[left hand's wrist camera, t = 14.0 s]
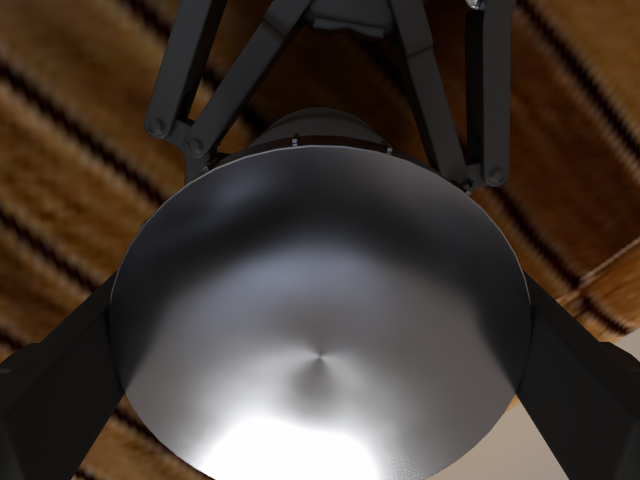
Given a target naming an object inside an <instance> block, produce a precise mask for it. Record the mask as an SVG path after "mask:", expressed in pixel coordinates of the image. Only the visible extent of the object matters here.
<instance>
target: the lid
mask: <svg viewBox="0 0 640 480" xmlns="http://www.w3.org/2000/svg"><path fill="white" fill-rule="evenodd" d="M203 170H204V171H203V172H202V173H200V174H199V175H198V176H196V177H195V178H194V179H193V180H191V181H190V182H189V183H187V184H186V185H185V186H184V187H182V188H181V189H180V190H179V191H177V192H176V193H175V194H173V195H172V196H171V197H170V198H168V199H167V200H166V201H165V202H164V203H163V204H162V205H161V206H160V207H159V208H158V209H157V210H156V211H155V212H154V213H153V214H152V215H151V216H150V218H148V219H147V220H146V221H145V222H143V223H142V225H141V229H140V230H139V232H138V233H137V235H136V236H135V238H134V239H133V240H132V242H131V243H130V245H129V247H128V249H127V251H126V253H125V255H124V257H123V260H122V262H121V264H120V266H119V268H118V271H117V275H116V278H115V281H114V285H113V288H112V291H111V299H110V306H109V314H108V326H109V344H110V349H111V353H112V358H113V363H114V367H115V370H116V373H117V376H118V379H119V381H120V384H121V386H122V388H123V390H124V392H125V394H126V396H127V398H128V400H129V402H130V404H131V406H132V407H133V409H134V410H135V411H136V413H137V414H138V416H139V417H140V419H141V420H142V422H143V423H144V424H145V425H146V426H147V428H148V429H149V430H150V431H151V432H152V433H153V434H154V435H155V436H156V438H157V439H158V440H159V441H160V442H161V443H163V444H164V445H165V446H166V447H167V448H168V449H169V450H171V451H172V452H173V453H174V454H175V455H176V456H178V457H179V458H181V459H182V460H184V461H185V462H186V463H188V464H189V465H191V466H192V467H194V468H195V469H197V470H199V471H201V472H202V473H204V474H206V475H208V476H210V477H212V478H213V479H215V480H424V479H426V478H428V477H430V476H432V475H434V474H436V473H438V472H440V471H441V470H443V469H445V468H446V467H448V466H449V465H451V464H452V463H454V462H456V461H457V460H458V459H460V458H461V457H462V456H463V455H465V454H466V453H467V452H468V451H470V450H471V449H472V448H473V447H474V446H475V445H477V443H479V442H480V441H481V440H482V438H484V437H485V436H486V435H487V433H489V432H490V430H491V429H492V428H493V427H494V425H495V424H496V423H497V421H498V420H499V419H500V418H501V416H502V415H503V414H504V412H505V411H506V409H507V407H508V405H509V404H510V402H511V400H512V399H513V397H514V395H515V394H516V391H517V389H518V386H519V384H520V382H521V379H522V377H523V374H524V372H525V367H526V363H527V359H528V354H529V350H530V344H531V334H532V315H531V301H530V297H529V292H528V288H527V283H526V279H525V276H524V273H523V271H522V268H521V266H520V263H519V261H518V258H517V256H516V254H515V252H514V250H513V249H512V247H511V245H510V244H509V242H508V240H507V239H506V237H505V235H504V234H503V232H502V230H501V229H500V228H499V227H498V226H497V225H496V223H495V222H494V221H493V220H492V219H491V217H490V216H489V215H488V214H487V213H486V211H485V210H484V209H483V208H482V207H481V206H479V205H478V204H477V203H476V202H475V201H474V200H473V199H471V198H470V197H469V195H470V194H471V193H470V192H469V191H468V190H467V189H465V188H464V187H463V186H461V185H460V184H459V183H457V182H456V181H455V180H452V181H450V180H448V179H447V178H446V177H445V176H443V175H442V174H440V173H439V172H437V171H436V170H434V169H433V168H431V167H430V166H428V165H427V164H425V163H424V162H422V161H420V160H419V159H416V158H414V157H412V156H410V155H408V154H406V153H403V152H401V151H399V150H397V149H395V148H392V147H390V146H389V145H388V144H387V143H386V142H385V141H381V142H380V144H378V143H375V142H372V141H369V140H363V139H357V138H351V137H345V136H329V135H307V136H300V135H299V133H295V134H294V137H289V138H282V139H278V140H273V141H269V142H265V143H261V144H257V145H254V146H252V147H249V148H247V149H244V150H242V151H239V152H237V153H234V154H232V155H229V156H228V157H226V158H224V159H222V160H221V161H220V160H219V158H217V159H215V160H214V161H212V162H211V163H210V164H208V165H207V166H206V167H205V168H203Z"/></svg>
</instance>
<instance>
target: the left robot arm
mask: <svg viewBox="0 0 640 480" xmlns="http://www.w3.org/2000/svg"><path fill="white" fill-rule="evenodd" d="M117 271H118V270H117ZM117 271H116V272H115V273H114V274H113V275H111V276H110V277H109V278H108V279H107V280H106V281H105V282H104V283H103V284H102V285H101V286H100V287H99V288H98V289H97V290H96V291H94V292H93V293H92V294H91V295H90V296H89V297H88V298H87V299H86V300H85V301H84V302H83V303H82V304H81V305H80V306H79V307H77V308H76V309H75V310H74V311H73V312H72V313H71V314H70V315H69V316H68V317H67V318H66V319H65V320H64V321H63V322H62V323H60V324H59V325H58V326H57V327H56V328H55V329H54V330H53V331H52V332H51V333H50V334H49V335H48V336H47V337H46V338H45V339H44V340H42V341H41V342H40V343H31V344H29V345H28V346H26V347H24V348H22V349H21V350H19V351H17V352H15V353H14V354H12V355H10V356H9V357H8V358H6V359H5V360H4V361H3V362H2V363H1V364H0V480H71V479H72V477H73V476H74V474H75V472H76V471H77V469H78V468H79V466H80V464H81V463H82V461H83V460H84V458H85V456H86V455H87V453H88V452H89V450H90V448H91V447H92V445H93V443H94V442H95V440H96V439H97V437H98V435H99V434H100V432H101V431H102V429H103V427H104V426H105V424H106V423H107V421H108V419H109V418H110V416H111V414H112V413H113V411H114V410H115V408H116V406H117V405H118V403H119V402H120V400H121V398H122V397H123V395H124V394H125V392H124V390H123V388H122V386H121V384H120V381H119V379H118V376H117V373H116V370H115V367H114V363H113V358H112V353H111V349H110V344H109V326H108V314H109V306H110V299H111V291H112V288H113V285H114V281H115V278H116V275H117ZM522 271H523V270H522ZM523 273H524V276H525V279H526V283H527V288H528V292H529V297H530V301H531V315H532V334H531V344H530V350H529V354H528V359H527V363H526V367H525V372H524V374H523V377H522V379H521V382H520V384H519V386H518V389H517V391H516V395H517V396H518V398H519V400H520V401H521V403H522V404H523V406H524V408H525V409H526V411H527V412H528V414H529V416H530V417H531V419H532V421H533V422H534V424H535V425H536V427H537V429H538V430H539V432H540V433H541V435H542V437H543V438H544V440H545V441H546V443H547V445H548V446H549V448H550V450H551V451H552V453H553V454H554V456H555V458H556V459H557V461H558V462H559V464H560V466H561V467H562V469H563V470H564V472H565V474H566V475H567V477H568V478H569V480H640V362H639V361H638V360H637V359H636V358H635V357H634V356H632V355H631V354H630V353H628V352H626V351H624V350H623V349H621V348H619V347H617V346H615V345H614V344H612V343H610V342H599V341H598V340H597V339H596V338H595V337H594V336H593V335H591V334H590V333H589V332H588V331H587V330H586V329H585V328H584V327H583V326H582V325H581V324H580V323H579V322H578V321H577V320H576V319H574V318H573V317H572V316H571V315H570V314H569V313H568V312H567V311H566V310H565V309H564V308H563V307H562V306H561V305H560V304H559V303H557V302H556V301H555V300H554V299H553V298H552V297H551V296H550V295H549V294H548V293H547V292H546V291H545V290H544V289H543V288H542V287H540V286H539V285H538V284H537V283H536V282H535V281H534V280H533V279H532V278H531V277H530V276H529V275H528V274H527V273H526V272H525V271H523Z"/></svg>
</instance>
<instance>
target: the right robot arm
mask: <svg viewBox="0 0 640 480" xmlns="http://www.w3.org/2000/svg"><path fill="white" fill-rule="evenodd" d="M428 1H429V0H273V2H272V3H271V5H270V6H269V8H268V9H267V11H266V13H265V15H264V17H263V19H262V22H261V24H260V25H259V27H258V28H257V30H256V31H255V33H254V34H253V36H252V37H251V39H250V40H249V42H248V43H247V45H246V46H245V48H244V49H243V51H242V52H241V54H240V55H239V57H238V58H237V60H236V61H235V63H234V64H233V66H232V67H231V69H230V70H229V72H228V73H227V75H226V76H225V78H224V79H223V81H222V82H221V84H220V85H219V87H218V88H217V90H216V91H215V93H214V94H213V96H212V97H211V99H210V100H209V102H208V103H207V105H206V106H205V108H204V109H203V111H202V112H201V114H200V115H199V117H198V118H197V120H196V121H193V120H191V119H189V118H188V116H189V113H190V110H191V107H192V104H193V101H194V98H195V95H196V92H197V89H198V86H199V83H200V80H201V77H202V74H203V71H204V68H205V65H206V62H207V60H208V57H209V54H210V51H211V48H212V45H213V42H214V39H215V36H216V33H217V30H218V27H219V24H220V21H221V18H222V15H223V12H224V9H225V6H226V3H227V0H180V4H179V7H178V10H177V14H176V17H175V20H174V24H173V27H172V30H171V34H170V37H169V40H168V44H167V47H166V50H165V54H164V57H163V60H162V64H161V67H160V70H159V73H158V77H157V80H156V83H155V87H154V90H153V93H152V97H151V100H150V103H149V107H148V110H147V113H146V117H145V120H144V127H145V130H146V132H147V133H148V134H149V135H150V136H151V137H153V138H156V139H163V140H165V141H167V142H169V143H171V144H173V145H175V146H176V147H178V148H179V149H180V150H181V151H182V153H183V154H184V157H185V185H186V184H187V183H189V182H190V181H191V180H193V179H194V178H195V177H196V176H198V175H199V174H200V173H202V172H203V171H204V170H203V168H205V167H206V166H207V165H208V164H210V163H211V162H212V161H214V160H215V159H217V158H219V160H220V161H221V160H222V159H224V158H226V157H228V156H229V155H232V154H226V153H217V147H218V146H219V145H220V142H221V141H222V139H223V138H224V137H225V135H226V134H227V132H228V131H229V129H230V128H231V127H232V125H233V124H234V122H235V121H236V119H237V118H238V117H239V115H240V114H241V112H242V111H243V109H244V108H245V107H246V105H247V104H248V102H249V101H250V99H251V98H252V97H253V95H254V94H255V92H256V91H257V89H258V88H259V87H260V85H261V84H262V82H263V81H264V79H265V78H266V77H267V75H268V74H269V72H270V71H271V69H272V68H273V67H274V65H275V64H276V62H277V61H278V59H279V58H280V57H281V55H282V54H283V52H284V51H285V49H286V48H287V47H288V45H289V44H290V43H291V42H292V41H293V40H294V38H295V37H296V36H297V34H298V33H299V31H300V30H301V28H302V27H303V26H304V24H305V25H306V26H307V27H309V28H310V29H312V30H313V31H314V32H316V33H322V34H328V35H330V34H338V33H349V34H351V35H353V36H355V37H357V38H359V39H361V40H366V41H373V42H378V41H380V40H384V39H388V42H389V46H390V49H391V52H392V55H393V57H394V59H395V61H396V63H397V65H398V68H399V71H400V74H401V77H402V81H403V84H404V87H405V90H406V93H407V96H408V99H409V103H410V106H411V109H412V112H413V115H414V118H415V121H416V125H417V128H418V131H419V134H420V137H421V140H422V143H423V147H424V150H425V153H426V156H427V159H428V162H429V165H430V167H431V168H433V169H434V170H436V171H437V172H439V173H440V174H442V175H443V176H445V177H446V178H447V179H448V180H450V181H452V180H455V181H456V182H457V183H459V184H460V185H461V186H463V187H464V188H465V189H467V190H468V191H469V192H470V193H471V194H472V192H473V191H474V188H477V187H482V186H487V185H490V186H492V187H498V186H500V185H502V184H504V183H505V182H506V180H507V179H508V177H509V155H510V79H511V14H512V11H513V8H514V5H515V2H516V0H459V5H460V6H461V8H462V9H463V10H465V11H467V16H466V24H465V71H466V113H467V156H468V159H464V158H463V154H462V151H461V147H460V144H459V140H458V137H457V133H456V130H455V126H454V123H453V119H452V116H451V112H450V109H449V105H448V102H447V98H446V95H445V91H444V88H443V84H442V81H441V77H440V74H439V70H438V67H437V63H436V60H435V56H434V53H433V39H432V34H431V31H430V27H429V24H428V20H427V17H426V13H425V10H424V6H425V4H426V3H427V2H428ZM471 194H470V195H471ZM470 195H469V196H470Z"/></svg>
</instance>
